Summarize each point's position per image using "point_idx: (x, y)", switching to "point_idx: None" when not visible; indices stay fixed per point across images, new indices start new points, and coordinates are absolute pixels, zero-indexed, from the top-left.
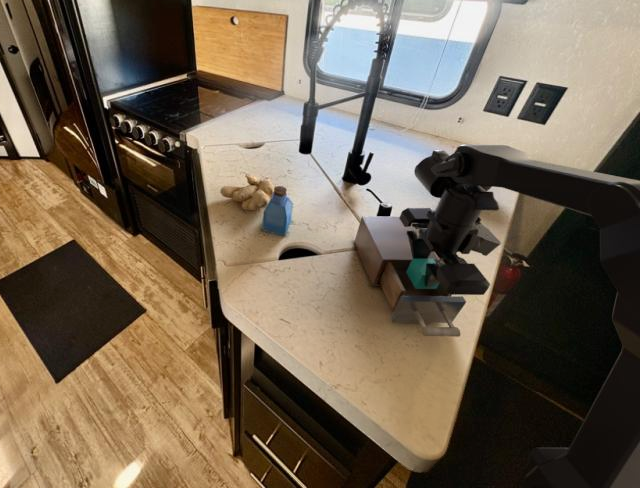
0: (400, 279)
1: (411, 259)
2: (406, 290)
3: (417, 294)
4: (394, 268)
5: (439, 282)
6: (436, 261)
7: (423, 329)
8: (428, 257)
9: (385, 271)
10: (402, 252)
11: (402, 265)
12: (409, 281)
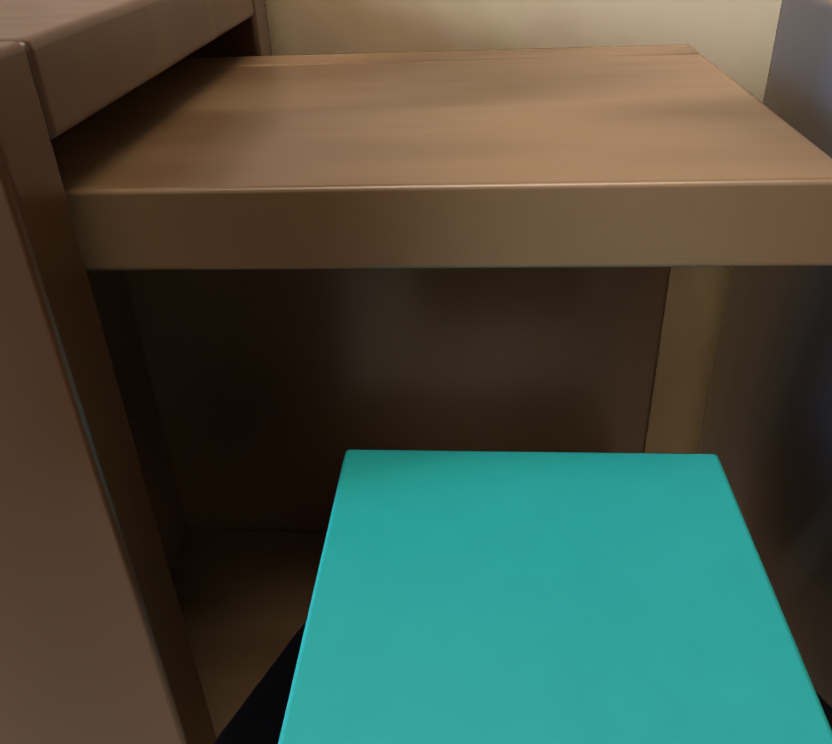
0: (271, 387)
1: (163, 693)
2: (423, 384)
3: (477, 292)
4: (144, 445)
5: (775, 599)
6: (63, 245)
7: None
8: (13, 418)
9: None
10: (27, 738)
11: None
12: (287, 302)
